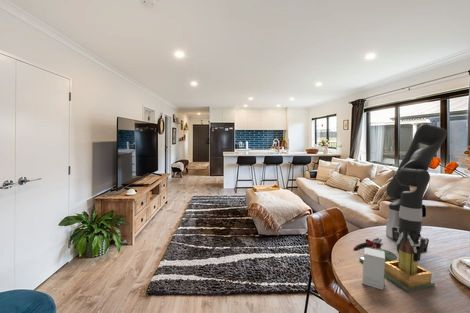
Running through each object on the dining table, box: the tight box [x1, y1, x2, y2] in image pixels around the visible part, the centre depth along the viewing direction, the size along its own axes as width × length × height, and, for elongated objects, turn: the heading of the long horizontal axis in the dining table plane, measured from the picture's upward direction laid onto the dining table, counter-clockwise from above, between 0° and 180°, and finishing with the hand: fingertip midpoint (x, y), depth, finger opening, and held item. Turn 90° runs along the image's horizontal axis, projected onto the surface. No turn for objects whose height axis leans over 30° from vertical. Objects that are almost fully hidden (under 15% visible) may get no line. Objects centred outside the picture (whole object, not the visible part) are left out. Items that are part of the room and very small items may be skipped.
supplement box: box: [361, 247, 385, 291], centre depth 95 cm, size 7×7×13 cm
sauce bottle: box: [398, 229, 418, 275], centre depth 96 cm, size 6×6×20 cm
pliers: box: [353, 237, 383, 251], centre depth 128 cm, size 3×9×22 cm
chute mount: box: [359, 248, 436, 293], centre depth 103 cm, size 24×14×6 cm, turn 14°
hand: (407, 256), depth 97 cm, fingers closed on sauce bottle, 6 cm apart
